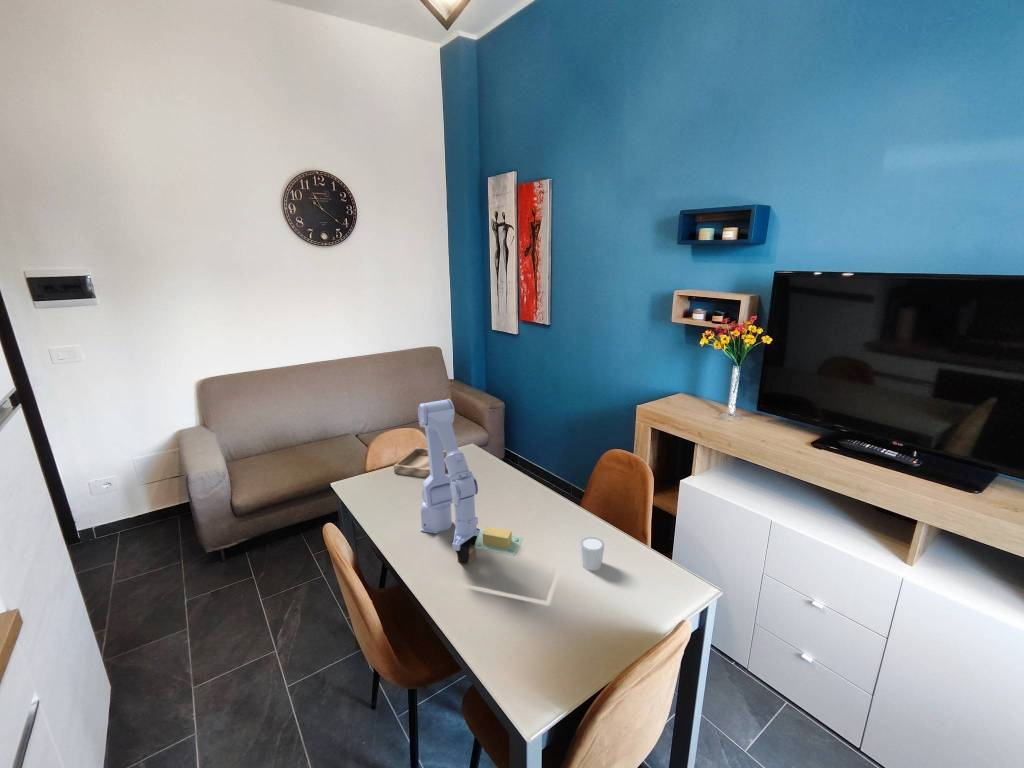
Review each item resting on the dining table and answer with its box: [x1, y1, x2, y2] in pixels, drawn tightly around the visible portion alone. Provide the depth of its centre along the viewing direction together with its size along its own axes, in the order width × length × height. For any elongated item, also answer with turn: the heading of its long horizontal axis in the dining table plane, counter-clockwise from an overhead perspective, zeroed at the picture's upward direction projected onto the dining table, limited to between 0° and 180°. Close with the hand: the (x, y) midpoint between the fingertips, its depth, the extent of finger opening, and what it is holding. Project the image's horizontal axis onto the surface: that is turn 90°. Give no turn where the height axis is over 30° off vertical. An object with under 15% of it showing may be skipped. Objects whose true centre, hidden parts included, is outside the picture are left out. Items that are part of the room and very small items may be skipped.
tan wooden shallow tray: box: [393, 447, 447, 479], centre depth 199 cm, size 19×19×4 cm
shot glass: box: [579, 536, 605, 572], centre depth 135 cm, size 7×7×7 cm
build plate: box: [475, 530, 524, 556], centre depth 145 cm, size 14×9×1 cm, turn 73°
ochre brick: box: [483, 526, 513, 549], centre depth 145 cm, size 8×4×4 cm, turn 73°
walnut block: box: [457, 545, 477, 565], centre depth 138 cm, size 4×4×4 cm
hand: (466, 557), depth 138 cm, fingers closed on walnut block, 4 cm apart
